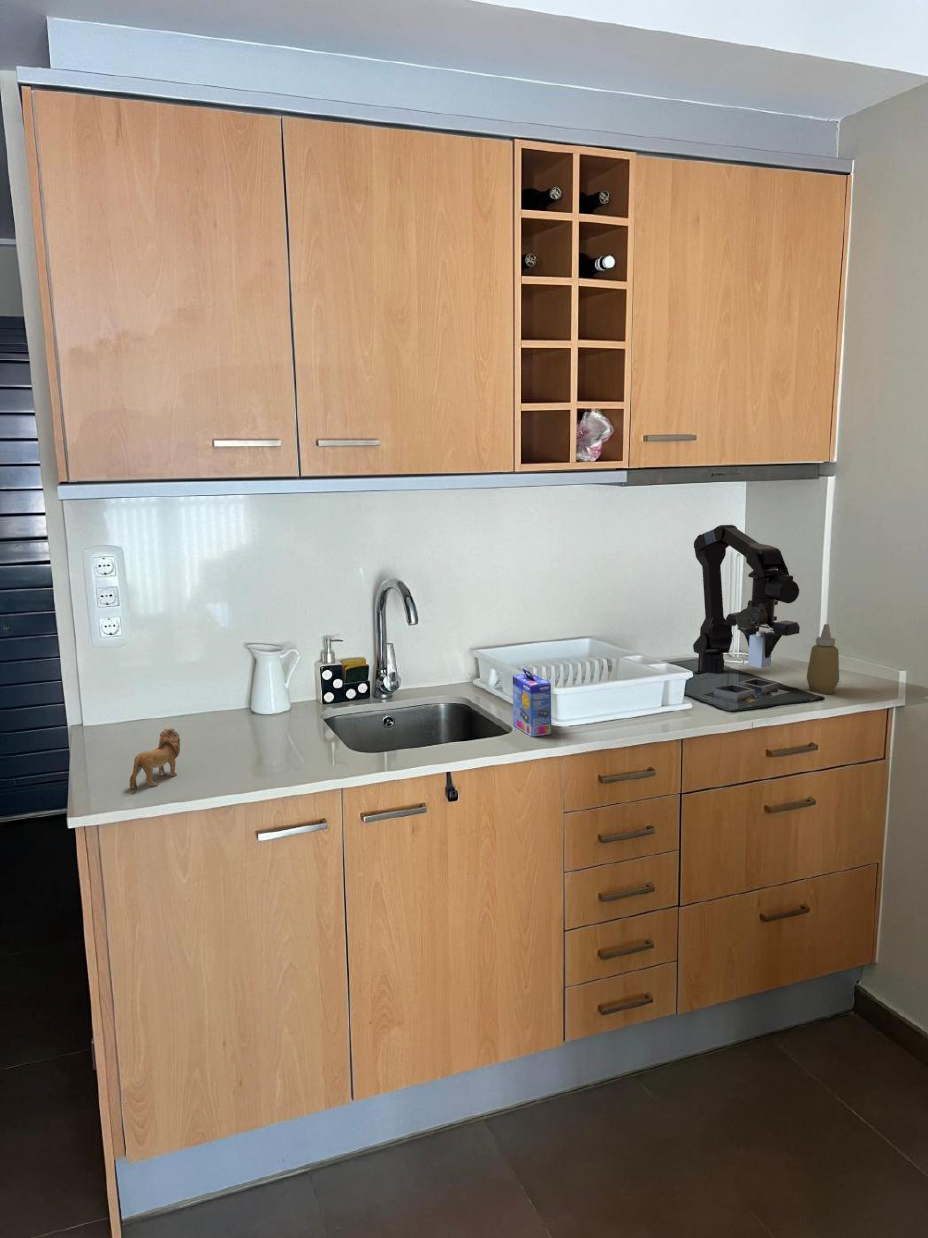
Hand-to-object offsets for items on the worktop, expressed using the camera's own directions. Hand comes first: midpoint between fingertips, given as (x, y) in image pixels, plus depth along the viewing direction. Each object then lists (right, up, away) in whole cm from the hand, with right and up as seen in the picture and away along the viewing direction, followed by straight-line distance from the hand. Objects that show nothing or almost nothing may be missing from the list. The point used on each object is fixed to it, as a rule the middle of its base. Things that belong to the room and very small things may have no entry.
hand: (759, 656), depth 244 cm
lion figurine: (-137, -22, -58) cm, 151 cm away
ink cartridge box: (-61, -16, -28) cm, 69 cm away
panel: (-4, -10, -1) cm, 11 cm away
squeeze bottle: (+17, -10, +4) cm, 20 cm away
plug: (0, -2, +1) cm, 2 cm away
